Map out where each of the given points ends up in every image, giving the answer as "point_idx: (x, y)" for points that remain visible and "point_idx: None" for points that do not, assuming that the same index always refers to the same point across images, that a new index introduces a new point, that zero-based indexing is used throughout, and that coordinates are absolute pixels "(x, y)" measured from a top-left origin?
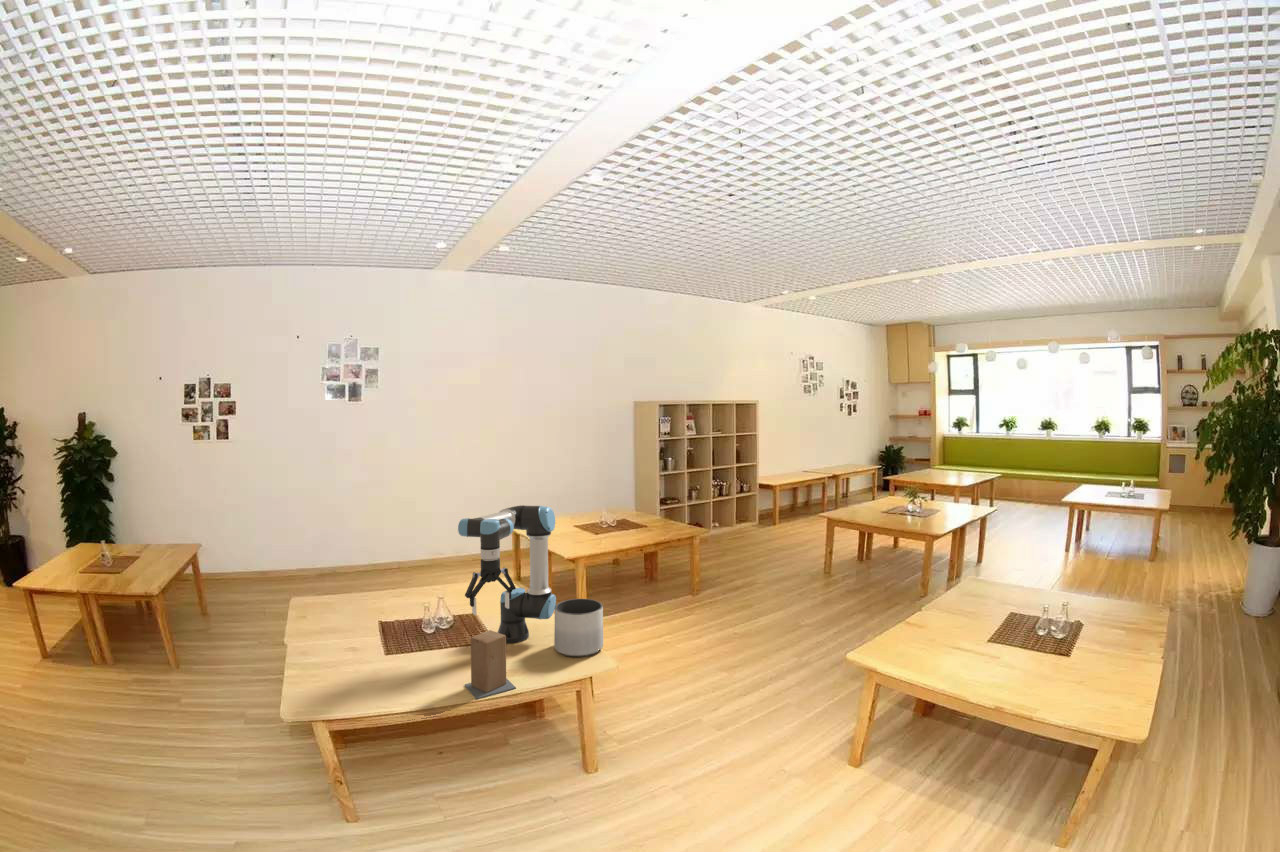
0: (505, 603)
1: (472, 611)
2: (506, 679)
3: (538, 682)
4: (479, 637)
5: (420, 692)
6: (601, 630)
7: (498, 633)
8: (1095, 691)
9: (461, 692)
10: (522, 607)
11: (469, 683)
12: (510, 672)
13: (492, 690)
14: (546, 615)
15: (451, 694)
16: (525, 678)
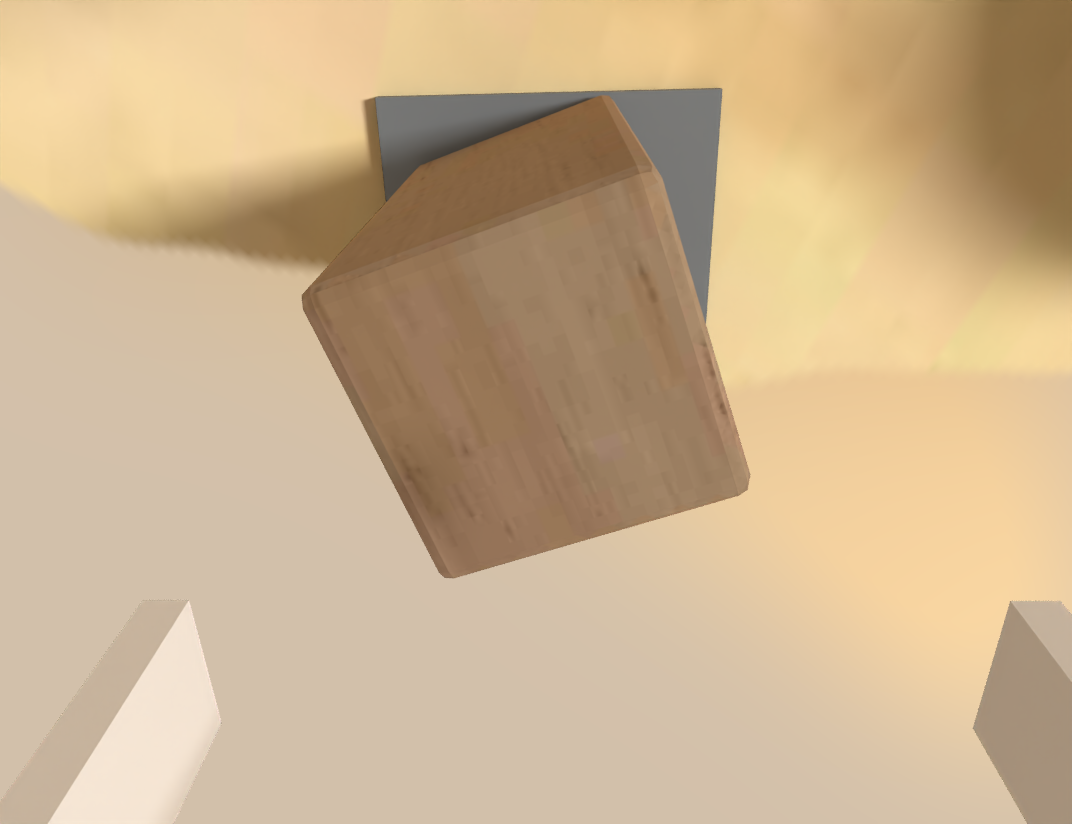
0: (1055, 704)
1: (121, 647)
2: (705, 208)
3: (885, 364)
4: (408, 385)
5: (13, 6)
6: None
7: (695, 389)
8: None
9: (331, 202)
10: None
11: (415, 106)
12: (810, 58)
13: None
14: None
15: (254, 192)
16: (847, 248)
